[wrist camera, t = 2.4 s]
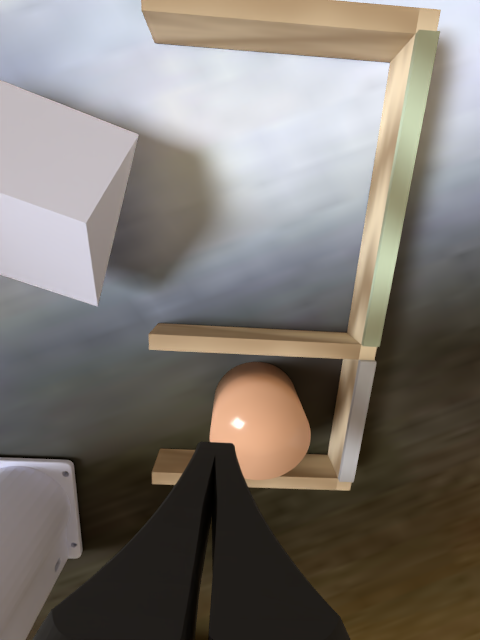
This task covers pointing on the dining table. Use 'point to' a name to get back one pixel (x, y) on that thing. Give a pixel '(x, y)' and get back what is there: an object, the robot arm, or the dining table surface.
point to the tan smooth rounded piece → (260, 420)
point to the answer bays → (382, 210)
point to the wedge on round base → (59, 193)
